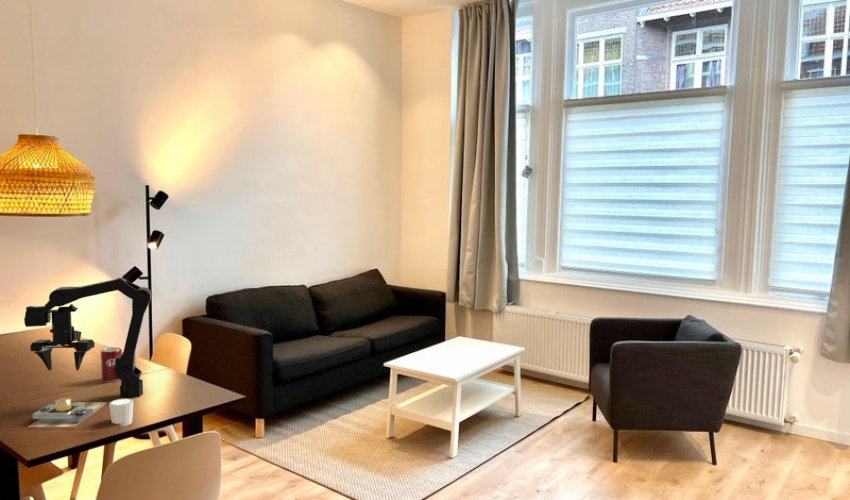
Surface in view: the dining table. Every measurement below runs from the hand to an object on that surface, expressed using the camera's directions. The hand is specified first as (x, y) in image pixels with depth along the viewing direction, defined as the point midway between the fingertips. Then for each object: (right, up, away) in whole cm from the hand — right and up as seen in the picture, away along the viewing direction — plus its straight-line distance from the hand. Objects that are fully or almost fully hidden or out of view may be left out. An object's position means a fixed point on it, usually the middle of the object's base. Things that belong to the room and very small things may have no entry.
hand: (63, 370), depth 209 cm
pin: (+9, -12, -15) cm, 21 cm away
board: (+8, -13, -10) cm, 19 cm away
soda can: (+2, -10, +29) cm, 31 cm away
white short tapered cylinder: (+28, -14, -16) cm, 35 cm away
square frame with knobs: (+9, -13, -14) cm, 22 cm away
